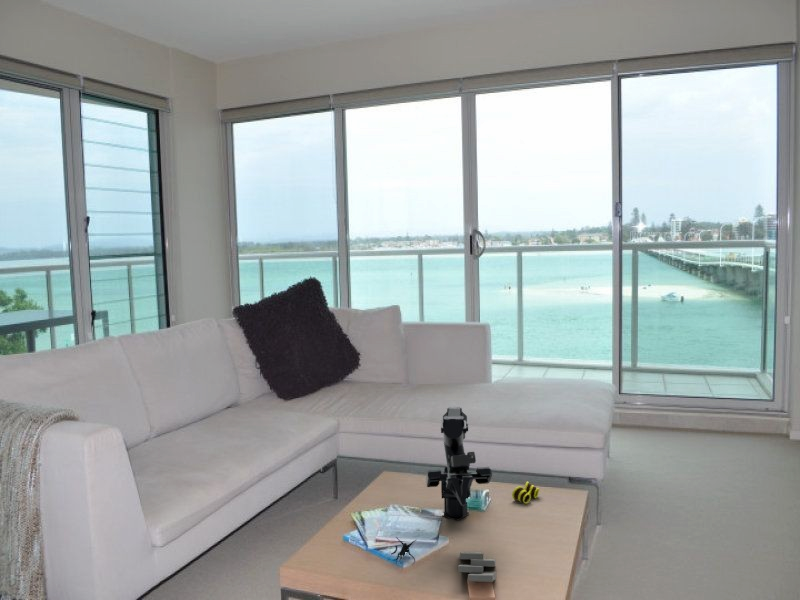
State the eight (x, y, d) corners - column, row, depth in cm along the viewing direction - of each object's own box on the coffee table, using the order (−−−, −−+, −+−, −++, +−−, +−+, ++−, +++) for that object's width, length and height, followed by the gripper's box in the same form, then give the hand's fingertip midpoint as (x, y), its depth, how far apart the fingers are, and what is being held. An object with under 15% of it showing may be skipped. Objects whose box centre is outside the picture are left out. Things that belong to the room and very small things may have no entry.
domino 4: (472, 571, 168) (467, 575, 160) (495, 571, 167) (492, 575, 159) (472, 577, 168) (468, 581, 160) (496, 577, 167) (492, 581, 158)
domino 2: (460, 564, 172) (458, 565, 164) (483, 564, 171) (482, 566, 163) (460, 569, 172) (458, 571, 164) (483, 570, 171) (482, 572, 163)
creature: (412, 571, 174) (421, 552, 181) (410, 554, 172) (419, 535, 179) (384, 567, 177) (394, 548, 184) (382, 550, 175) (392, 532, 182)
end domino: (467, 578, 166) (469, 597, 157) (491, 578, 166) (494, 597, 157) (467, 583, 166) (469, 602, 157) (491, 583, 166) (495, 602, 157)
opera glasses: (524, 507, 214) (526, 493, 213) (510, 500, 217) (512, 487, 216) (539, 498, 221) (541, 485, 220) (525, 492, 224) (528, 479, 223)
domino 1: (459, 552, 179) (460, 553, 171) (481, 552, 179) (483, 553, 170) (459, 557, 179) (460, 559, 170) (481, 557, 178) (483, 559, 170)
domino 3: (472, 558, 175) (470, 559, 167) (495, 559, 174) (494, 560, 166) (472, 563, 175) (470, 565, 167) (495, 564, 174) (494, 566, 166)
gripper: (426, 443, 188) (433, 495, 178) (490, 440, 190) (500, 490, 180) (423, 461, 197) (429, 511, 187) (484, 457, 199) (493, 507, 189)
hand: (463, 505), depth 185 cm, fingers closed
